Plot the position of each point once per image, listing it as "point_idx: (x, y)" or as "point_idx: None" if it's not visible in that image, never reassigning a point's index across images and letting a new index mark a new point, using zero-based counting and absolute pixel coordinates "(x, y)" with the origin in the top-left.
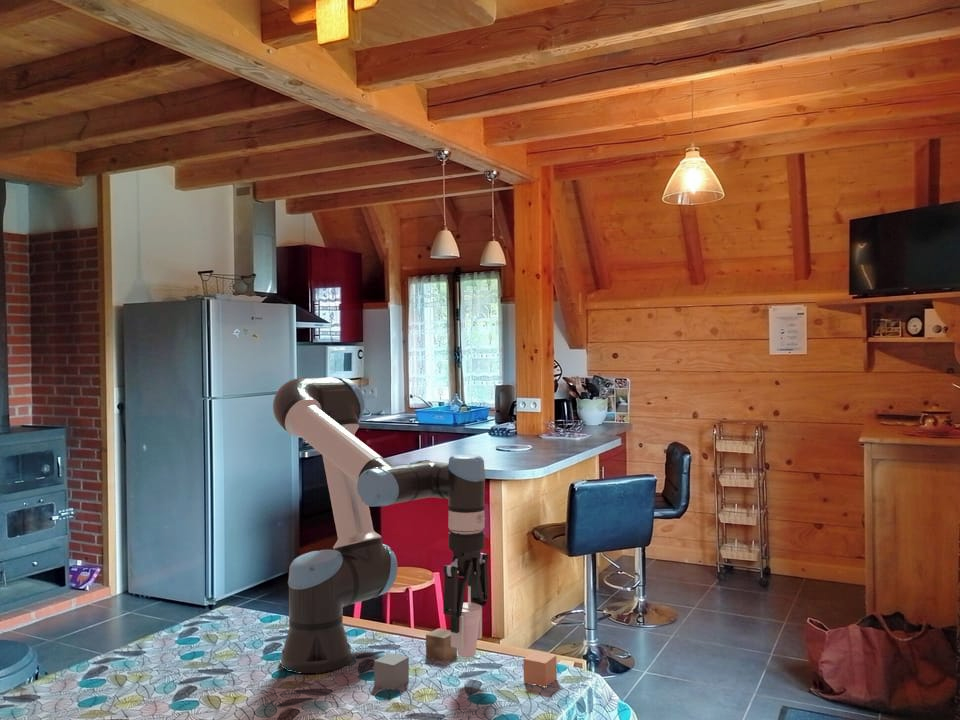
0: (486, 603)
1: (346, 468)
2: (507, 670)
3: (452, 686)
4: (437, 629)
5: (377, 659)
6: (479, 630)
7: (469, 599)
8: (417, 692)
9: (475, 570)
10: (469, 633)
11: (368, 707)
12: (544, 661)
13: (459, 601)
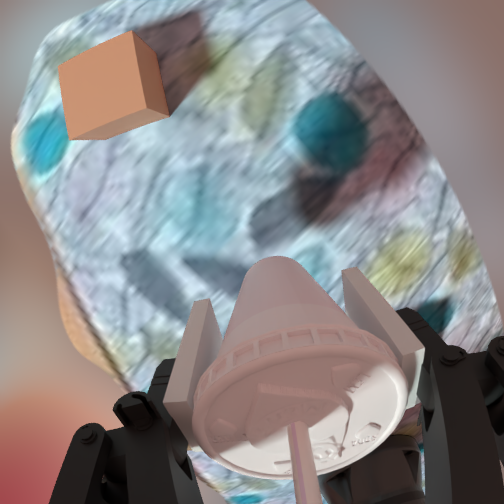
0: (123, 402)
1: None
2: (137, 218)
3: (328, 252)
4: (187, 448)
5: (420, 401)
6: (206, 319)
7: (311, 468)
8: (400, 286)
9: None
10: (323, 294)
11: (481, 296)
12: (119, 44)
13: (488, 422)
